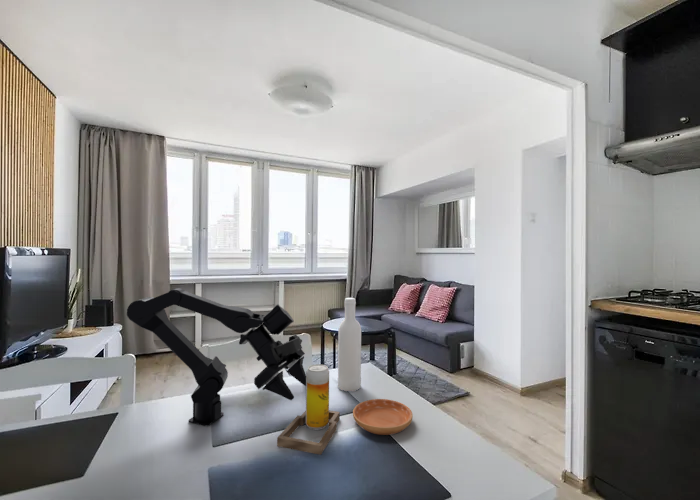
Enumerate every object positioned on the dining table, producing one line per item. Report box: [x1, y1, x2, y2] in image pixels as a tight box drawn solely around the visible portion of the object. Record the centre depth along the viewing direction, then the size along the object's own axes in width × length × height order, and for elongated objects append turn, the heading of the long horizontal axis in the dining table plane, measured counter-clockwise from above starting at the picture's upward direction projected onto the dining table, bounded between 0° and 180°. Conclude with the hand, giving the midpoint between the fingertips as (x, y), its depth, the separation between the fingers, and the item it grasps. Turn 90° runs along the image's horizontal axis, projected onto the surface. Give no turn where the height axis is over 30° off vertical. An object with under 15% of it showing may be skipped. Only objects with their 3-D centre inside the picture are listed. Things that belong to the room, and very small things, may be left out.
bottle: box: [337, 297, 362, 392], centre depth 111 cm, size 8×8×30 cm
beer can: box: [305, 363, 330, 431], centre depth 86 cm, size 6×6×15 cm
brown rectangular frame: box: [276, 409, 341, 455], centre depth 83 cm, size 11×16×2 cm
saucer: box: [352, 398, 414, 436], centre depth 88 cm, size 16×16×3 cm
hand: (300, 391), depth 87 cm, fingers open, 9 cm apart
